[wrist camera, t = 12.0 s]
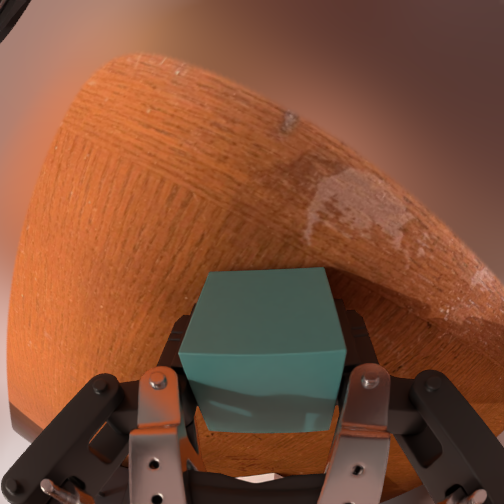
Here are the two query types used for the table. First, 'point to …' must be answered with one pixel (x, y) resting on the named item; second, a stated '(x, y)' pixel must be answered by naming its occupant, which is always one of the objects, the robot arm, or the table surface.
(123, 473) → the drawer
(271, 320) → the block
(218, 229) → the table surface
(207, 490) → the robot arm
